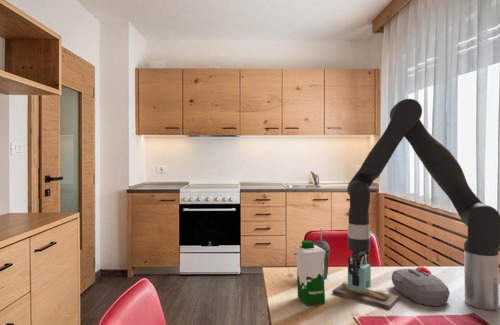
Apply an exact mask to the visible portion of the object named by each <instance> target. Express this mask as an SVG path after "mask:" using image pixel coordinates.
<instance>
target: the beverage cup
mask: <svg viewBox="0 0 500 325" xmlns="http://www.w3.org/2000/svg"><path fill="white" fill-rule="evenodd" d="M322 231H323V230H322V228H320V231H319V232H320V239H318V240H316V241H315V242H314V245H316V246H318V247H320V248H322V249H323V250H325V251H326V252H325V258H324V281H325V280H327V279H328V275H329V274H328V272H329V258H330V253H331V249H330V245H329V243H328V242H327V241H326V240H324V239H322V238H323V236H322V235H323V232H322Z"/></svg>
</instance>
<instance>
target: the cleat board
mask: <svg viewBox="0 0 500 325" xmlns="http://www.w3.org/2000/svg"><path fill="white" fill-rule="evenodd" d="M332 294H333V295H336V296H340V297H344V298H347V299H351V300H355V301H358V302H361V303H365V304H369V305H372V306H375V307H376V306H377V307H380V308H383V309H386V310H391V309H392V308H393V307H394V306H395V305H396V303H397V302H398V301H400V295H397V294H394V293H390V291H387V290H383V289H378V288H374V287H366V291H365V292H363V291H359V290H355V289H351V288H348V281H343V282H342V284H340V285H338V286H337V287H335V288H333V289H332Z"/></svg>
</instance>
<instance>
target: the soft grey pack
mask: <svg viewBox="0 0 500 325" xmlns="http://www.w3.org/2000/svg"><path fill="white" fill-rule="evenodd" d="M415 269H416V268H415ZM415 269H414V268H401V269H397V270H394V271H393V272H392V273H391V283H392V285H393V287H394V288H395V289H396V290H397V291H398V292H399V293H401V295H403V296H404V297H406V299H409V300H411V301H413V302H415V303H418V304H420V305H421V304H422V305H425V306H432V307H433V306H434V307H436V306H437V307H439V306H443V305H446V303H447V302H448V300H449V298H450V290H449V288H448V286H447V285H446V284H445V283H444V282H443V280H442V279H440V278H439V277H437V276H436V275H434V274H432V273H431V274H429V273H426V272H423V271H420V270H419V269H416V270H415Z"/></svg>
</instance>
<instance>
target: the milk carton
mask: <svg viewBox="0 0 500 325" xmlns="http://www.w3.org/2000/svg"><path fill="white" fill-rule="evenodd" d="M314 243H315V242H314V241H313V240H311V239H310V240H309V239H304V240H302V241H301V246H300V245H299V246H295V250H296V268H297V269H296V271H297V272H296V274H297V275H296V276H297V277H296V279H297V280H296V283H297V288H296V289H297V298H298V299H299V300H300V301H301V302H302V303H303V304H304V305H305V306H306V307H308V306H317V305H322V304H326V294H325V291H326V290H325V280H324V258H325V252H326V251H325V250H323V249H322V248H320V247H318V246H316V245H314Z"/></svg>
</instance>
